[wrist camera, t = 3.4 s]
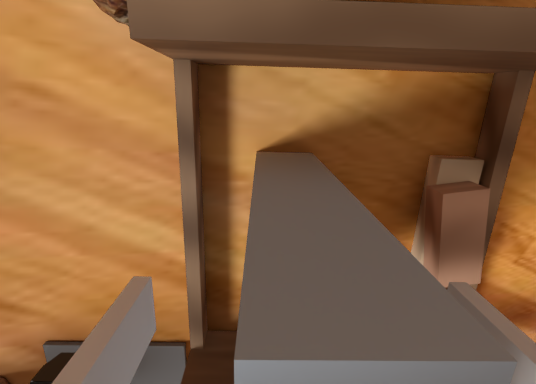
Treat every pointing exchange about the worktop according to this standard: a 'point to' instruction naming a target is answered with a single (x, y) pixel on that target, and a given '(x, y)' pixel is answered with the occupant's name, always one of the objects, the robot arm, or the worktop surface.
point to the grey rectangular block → (345, 294)
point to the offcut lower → (442, 173)
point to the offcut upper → (455, 231)
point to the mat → (151, 366)
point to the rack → (328, 56)
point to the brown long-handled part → (3, 381)
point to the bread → (115, 9)
